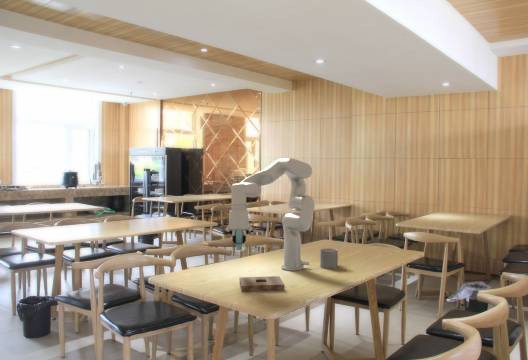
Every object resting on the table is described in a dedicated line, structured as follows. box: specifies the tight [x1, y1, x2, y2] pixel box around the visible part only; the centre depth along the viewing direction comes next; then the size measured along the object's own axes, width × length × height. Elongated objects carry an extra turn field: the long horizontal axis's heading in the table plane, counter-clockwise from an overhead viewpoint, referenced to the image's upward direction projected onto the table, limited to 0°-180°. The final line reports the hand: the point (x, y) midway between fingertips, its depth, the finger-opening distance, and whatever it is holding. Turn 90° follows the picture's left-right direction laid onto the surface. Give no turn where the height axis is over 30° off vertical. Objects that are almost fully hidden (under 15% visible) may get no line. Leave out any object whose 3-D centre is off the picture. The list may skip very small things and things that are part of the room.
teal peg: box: [234, 229, 244, 251], centre depth 229 cm, size 4×4×12 cm
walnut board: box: [239, 275, 285, 293], centre depth 216 cm, size 20×16×3 cm
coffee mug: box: [319, 247, 339, 270], centre depth 260 cm, size 13×10×10 cm
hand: (239, 242), depth 229 cm, fingers closed on teal peg, 4 cm apart
